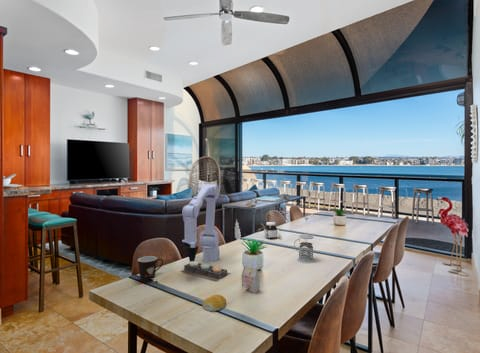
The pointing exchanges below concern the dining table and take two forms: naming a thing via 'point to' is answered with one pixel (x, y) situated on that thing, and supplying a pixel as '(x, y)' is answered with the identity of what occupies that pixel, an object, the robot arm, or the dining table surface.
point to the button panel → (205, 272)
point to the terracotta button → (217, 269)
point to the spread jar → (271, 231)
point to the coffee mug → (147, 268)
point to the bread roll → (214, 303)
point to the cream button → (193, 263)
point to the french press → (305, 249)
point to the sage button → (205, 266)
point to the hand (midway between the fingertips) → (190, 258)
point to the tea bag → (251, 279)
